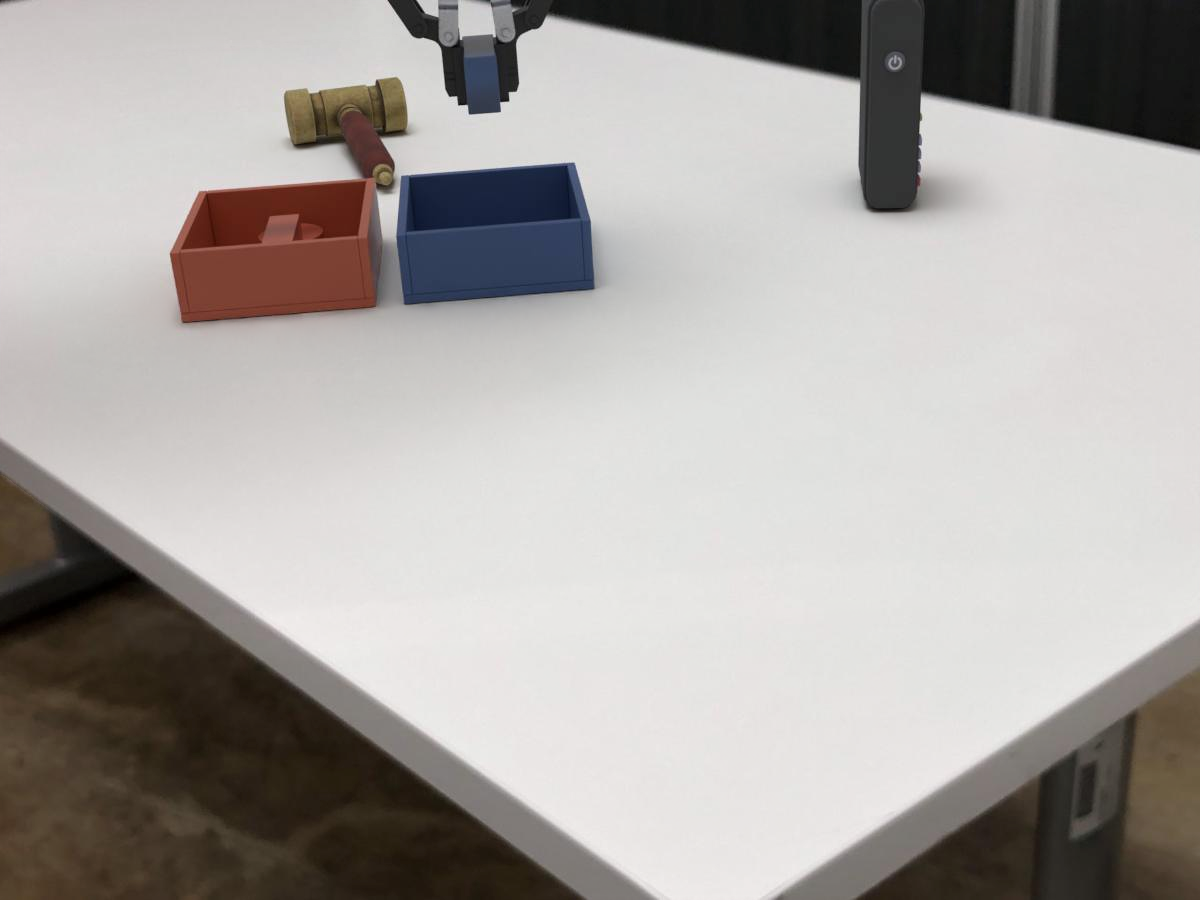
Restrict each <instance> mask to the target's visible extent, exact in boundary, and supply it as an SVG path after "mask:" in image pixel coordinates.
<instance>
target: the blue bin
mask: <svg viewBox="0 0 1200 900" xmlns="http://www.w3.org/2000/svg"><path fill="white" fill-rule="evenodd" d="M398 198H399V200H398V209H397V221H396V222H397V223H396V235H395V237H396V247H397V255H398V262H399V271H400V280H401V288H402V289H401V290H402V297H403V298H402V299H403V304H404V305H408V304H409V305H410V304H421V303H422V304H423V303H433V302H435V303H436V302H446V301H458V300H469V299H483V298H494V297H507V296H519V295H520V296H521V295H531V294H532V295H533V294H543V293H555V292H567V291H581V290H593V289H595V287H596V286H595V272H594V271H595V270H594V269H595V268H594V254H593V238H592V237H593V235H592V220H591V217H590V213H589V210H588V205H587V202H586V198H585V195H584V190H583V187H582V184H581V181H580V177H579V173H578V170H577V166H576V162H573V161H572V162H561V163H560V162H559V163H558V162H557V163H548V164H546V163H545V164H535V165H533V164H532V165H520V166H509V167H506V166H505V167H495V168H481V169H469V170H456V171H455V170H454V171H444V172H428V173H419V174H418V173H417V174H416V173H415V174H410V175H409V174H404V175H401V176H400V185H399V197H398Z"/></svg>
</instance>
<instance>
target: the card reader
mask: <svg viewBox="0 0 1200 900" xmlns="http://www.w3.org/2000/svg"><path fill="white" fill-rule="evenodd" d="M925 13H926V7H925V2H924V0H861V24H860V25H861V27H860V29H861V30H860V32H861V33H860V68H859V69H860V72H859V73H860V74H859V75H860V76H859V112H858V113H859V117H858V122H859V123H858V159H857V160H858V161H857V163H858V164H857V165H858V172H859V178H860V184H861V189H862V195H863V200H864V201H865V203H866V205H868V206H869V207H870V208H873V209H904V208H905V209H906V208H907V207H909V206H911V205H912V204H913V203H914V202H915V200H916V199H917V194H918V187H920V186H921V177H920V174H919V173H921V172H922V165H921V164H922V163H921V161H920V160H922V155H923V154H922V150H921V149H922V148H921V147H920V146H922V145H923V137H922V134H921V133H920V131H921V130H920V128H921V122H922V121H923V114H922V112H921V103H922V83H923V81H922V80H923V59H924V58H923V57H924V32H925Z"/></svg>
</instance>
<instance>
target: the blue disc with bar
mask: <svg viewBox="0 0 1200 900" xmlns="http://www.w3.org/2000/svg"><path fill="white" fill-rule="evenodd" d="M493 37H494V34H476V35H463V36H462V37H461V40H463V45H464V51H463V60H464V71H465V82H466V92H467V103H468V105H467V113H468V115H469V116H472V115H484V114H495V113H496V114H497V113H501V112H502V106H501V102H500V93H499V81H498V70H497V58H496V51H495V48H494V43H493Z"/></svg>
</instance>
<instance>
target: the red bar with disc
mask: <svg viewBox="0 0 1200 900" xmlns="http://www.w3.org/2000/svg"><path fill="white" fill-rule="evenodd" d="M323 238H324V232H323V229H322V228H321V227H320V226H317V225H314V224H306V223H301V221H300V215H299V214H292V215H279V216H270V217H269V220H268V224H267V227H266V230H265V231H263V232H262V233H260V235H259V236H258V240H259V244H260V243H272V242H285V241H298V240H310V239H323Z"/></svg>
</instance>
